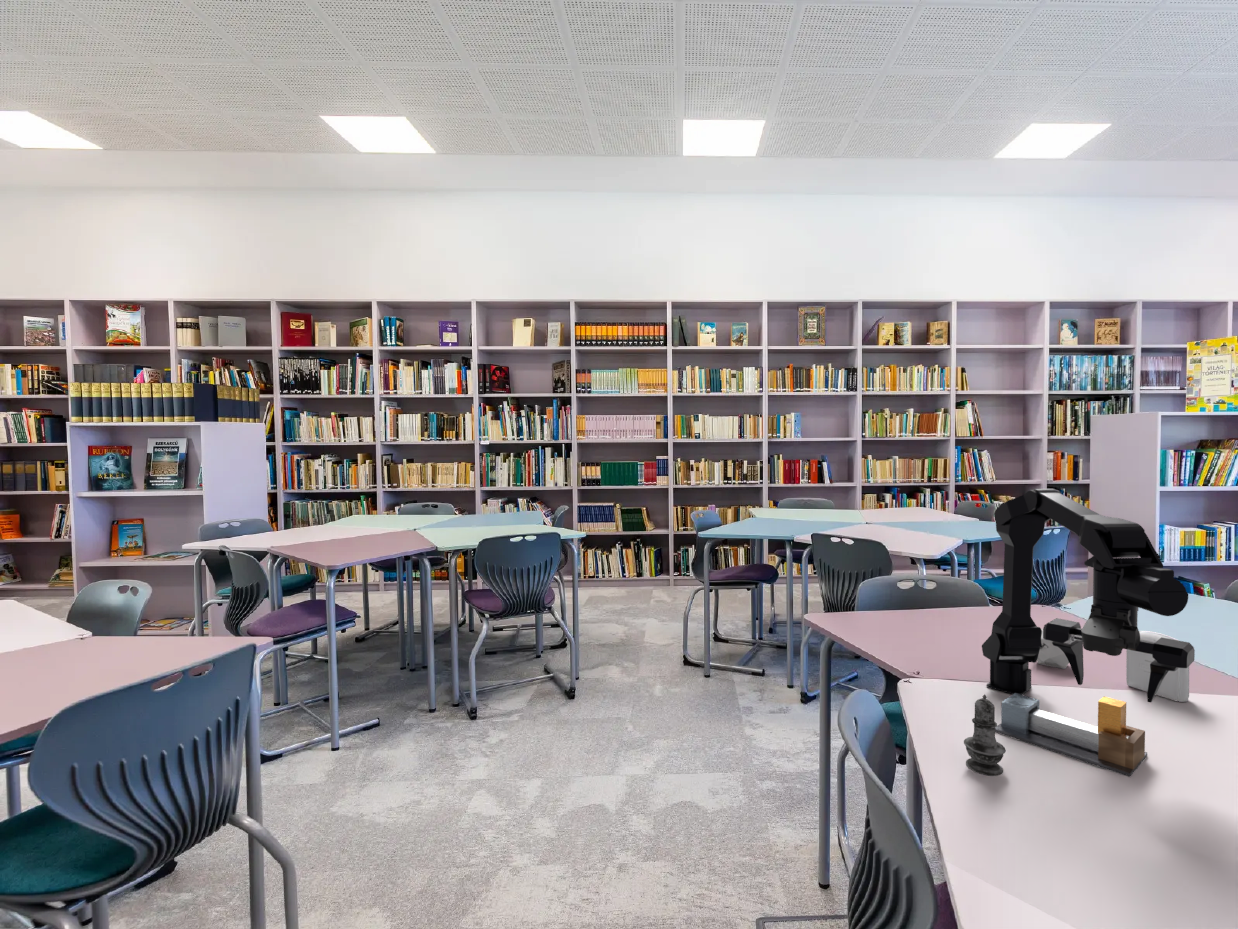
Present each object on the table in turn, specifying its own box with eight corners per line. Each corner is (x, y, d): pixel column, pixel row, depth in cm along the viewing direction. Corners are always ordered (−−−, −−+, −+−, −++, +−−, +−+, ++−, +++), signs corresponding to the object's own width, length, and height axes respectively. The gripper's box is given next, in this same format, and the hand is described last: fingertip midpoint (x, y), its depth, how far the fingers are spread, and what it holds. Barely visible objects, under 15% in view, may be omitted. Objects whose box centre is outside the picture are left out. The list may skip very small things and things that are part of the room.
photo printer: (1121, 685, 131) (1122, 627, 131) (1135, 682, 133) (1136, 625, 132) (1179, 704, 121) (1181, 642, 121) (1193, 701, 123) (1194, 639, 122)
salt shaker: (1000, 760, 102) (1001, 689, 102) (1010, 779, 97) (1010, 704, 96) (960, 755, 104) (960, 685, 104) (967, 773, 98) (967, 699, 98)
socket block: (1098, 758, 101) (1098, 733, 101) (1110, 745, 105) (1111, 721, 105) (1133, 769, 98) (1133, 743, 97) (1144, 756, 102) (1145, 730, 101)
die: (1024, 659, 149) (1020, 634, 144) (1052, 640, 149) (1049, 614, 145) (1055, 683, 142) (1052, 657, 137) (1085, 663, 142) (1083, 636, 138)
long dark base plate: (993, 731, 112) (994, 704, 112) (1015, 715, 118) (1016, 689, 118) (1129, 777, 97) (1130, 745, 96) (1147, 756, 103) (1147, 726, 102)
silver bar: (1007, 722, 113) (1007, 677, 113) (1014, 718, 115) (1014, 673, 115) (1123, 760, 100) (1124, 708, 100) (1129, 754, 102) (1130, 703, 101)
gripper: (1031, 596, 104) (1030, 688, 104) (1178, 620, 89) (1177, 727, 89) (1055, 585, 110) (1054, 672, 111) (1196, 606, 96) (1194, 706, 96)
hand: (1113, 692), depth 102 cm, fingers open, 9 cm apart
